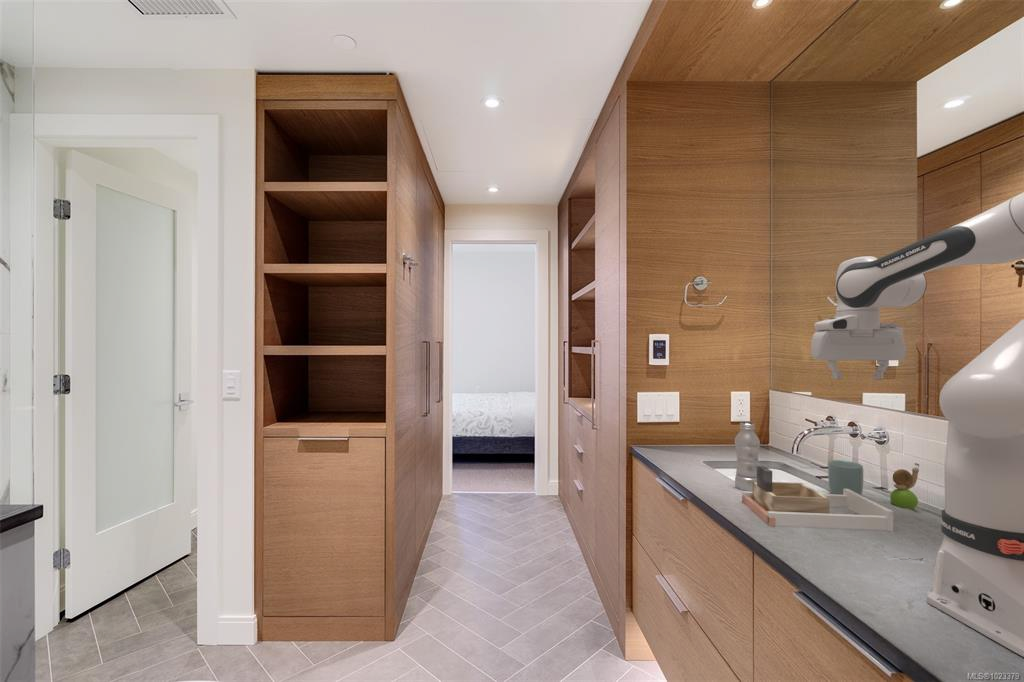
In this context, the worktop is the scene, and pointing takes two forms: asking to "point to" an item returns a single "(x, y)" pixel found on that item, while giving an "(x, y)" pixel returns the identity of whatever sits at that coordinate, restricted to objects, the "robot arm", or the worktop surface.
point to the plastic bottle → (746, 456)
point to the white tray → (868, 511)
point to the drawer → (786, 495)
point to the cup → (845, 477)
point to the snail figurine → (904, 488)
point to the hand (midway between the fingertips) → (857, 378)
